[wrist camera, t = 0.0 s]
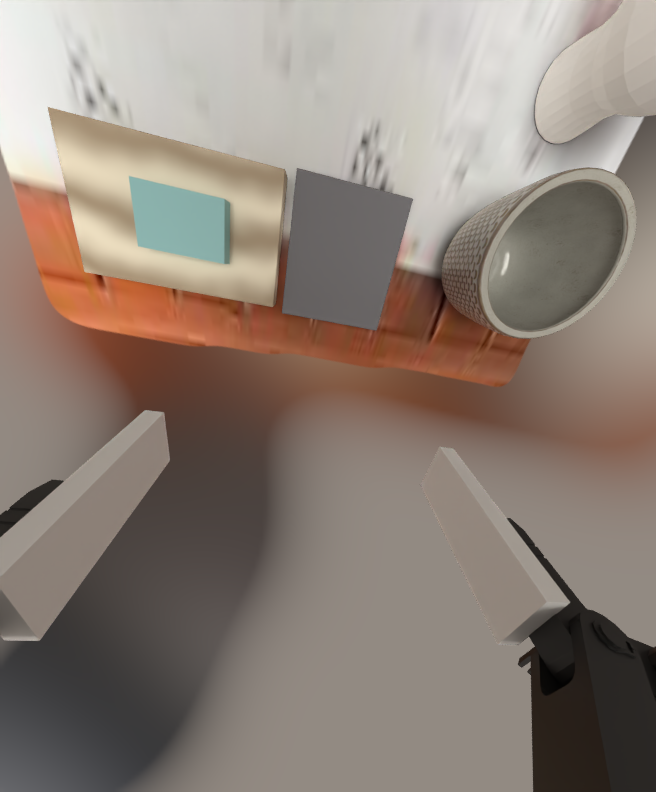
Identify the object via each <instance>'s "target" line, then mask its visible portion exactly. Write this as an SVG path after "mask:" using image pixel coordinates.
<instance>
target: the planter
mask: <svg viewBox="0 0 656 792" xmlns="http://www.w3.org/2000/svg"><path fill="white" fill-rule="evenodd" d="M635 230H636V208H635V203H634V198H633V196H632V194H631V192H630V190H629V188H628V186H627V185H626V184H625V183H624V182H623V180H622V179H621V178H619V177H618V176H616V175H615V174H614V173H612V172H609V171H606V170H604V169H598V168H579V169H573V170H568V171H564V172H561V173H557V174H554V175H551V176H549V177H546V178H544V179H541V180H539V181H537V182H535V183H533V184H531V185H529V186H526V187H524V188H522V189H520V190H518V191H515V192H513V193H511V194H509V195H507V196H505V197H503V198H501V199H499V200H497V201H495V202H494V203H492V204H490V205H488V206H487V207H485V208H484V209H482V210H481V211H479V212H478V213H476V214H475V215H474V216H473V217H472V218H470V219H469V220H468V221H467V222H466V223H465V224H464V225H463V226H462V227H461V228H460V230H459V231H458V232H457V234H456V235H455V236H454V238H453V239H452V241H451V243H450V245H449V247H448V249H447V252H446V254H445V257H444V261H443V265H442V285H443V290H444V292H445V295H446V297H447V299H448V300H449V302H450V303H451V304H452V306H453V307H454V308H455V309H456V310H458V311H459V312H460V313H462V314H463V315H464V316H466V317H468V318H469V319H471V320H473V321H474V322H476V323H478V324H480V325H482V326H484V327H486V328H488V329H490V330H493V331H495V332H497V333H499V334H501V335H505V336H509V337H513V338H521V339H530V338H539V337H542V336H547V335H550V334H552V333H555V332H558V331H560V330H562V329H564V328H566V327H567V326H569V325H571V324H572V323H574V322H576V321H577V320H578V319H580V318H581V317H583V316H584V315H585V314H586V313H587V312H589V311H590V310H591V309H592V308H593V307H594V306H595V305H596V304H597V303H598V302H599V301H600V300H601V299H602V298H603V297H604V296H605V294H606V293H607V292H608V291H609V290H610V288H611V287H612V285H613V284H614V282H615V281H616V279H617V278H618V276H619V275H620V273H621V271H622V269H623V267H624V265H625V264H626V261H627V259H628V256H629V254H630V251H631V248H632V244H633V241H634V237H635Z"/></svg>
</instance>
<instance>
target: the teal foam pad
mask: <svg viewBox="0 0 656 792" xmlns="http://www.w3.org/2000/svg"><path fill="white" fill-rule="evenodd" d="M129 183H130V190H131V198H132V205H133V213H134V220H135V228H136V235H137V243H138V246H139V247H144V248H149V249H153V250H158V251H163V252H168V253H173V254H178V255H183V256H187V257H192V258H197V259H202V260H207V261H212V262H217V263H222V264H230V203H229V202H228V201H227V200H225V199H223V198H219V197H215V196H210V195H206V194H202V193H198V192H194V191H190V190H185V189H181V188H177V187H173V186H169V185H164V184H160V183H156V182H152V181H148V180H144V179H139V178H135V177H131V176H129Z"/></svg>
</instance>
